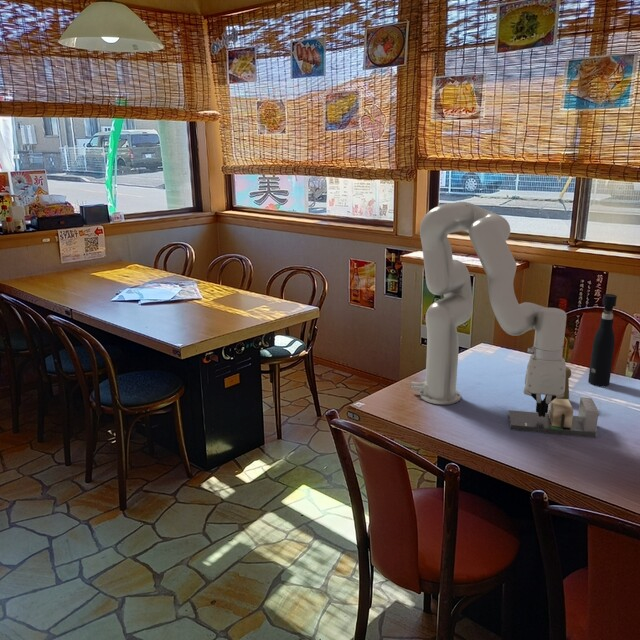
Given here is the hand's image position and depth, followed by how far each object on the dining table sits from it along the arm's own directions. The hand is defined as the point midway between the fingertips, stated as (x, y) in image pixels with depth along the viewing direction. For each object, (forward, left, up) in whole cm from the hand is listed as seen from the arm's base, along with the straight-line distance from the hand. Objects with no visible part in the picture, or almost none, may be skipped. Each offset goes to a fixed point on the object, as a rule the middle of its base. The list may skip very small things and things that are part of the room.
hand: (541, 414), depth 170 cm
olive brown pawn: (+8, +19, -3) cm, 21 cm away
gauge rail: (+3, 0, -3) cm, 4 cm away
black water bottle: (+23, +37, -3) cm, 44 cm away
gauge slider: (+5, 0, -1) cm, 5 cm away
